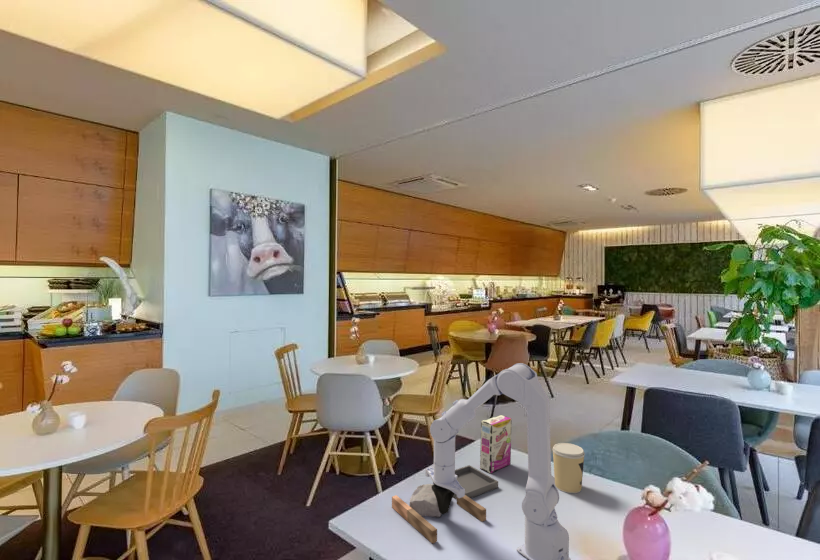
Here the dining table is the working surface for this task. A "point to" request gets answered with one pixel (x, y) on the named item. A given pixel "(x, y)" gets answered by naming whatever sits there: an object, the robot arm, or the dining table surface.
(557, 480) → the coffee cup
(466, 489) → the tray
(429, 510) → the stone block
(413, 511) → the pair of wooden bars
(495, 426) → the candy bar box
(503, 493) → the dining table surface
